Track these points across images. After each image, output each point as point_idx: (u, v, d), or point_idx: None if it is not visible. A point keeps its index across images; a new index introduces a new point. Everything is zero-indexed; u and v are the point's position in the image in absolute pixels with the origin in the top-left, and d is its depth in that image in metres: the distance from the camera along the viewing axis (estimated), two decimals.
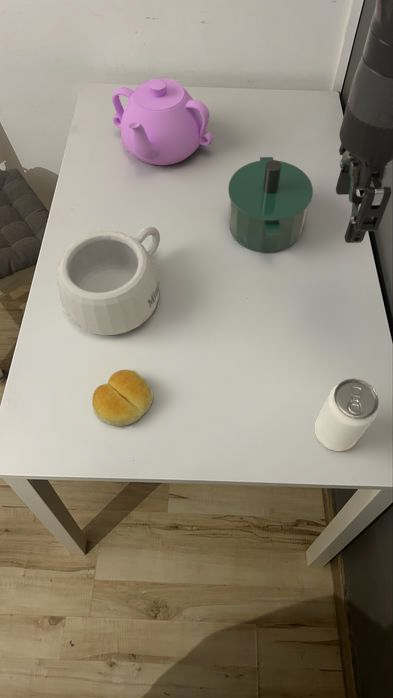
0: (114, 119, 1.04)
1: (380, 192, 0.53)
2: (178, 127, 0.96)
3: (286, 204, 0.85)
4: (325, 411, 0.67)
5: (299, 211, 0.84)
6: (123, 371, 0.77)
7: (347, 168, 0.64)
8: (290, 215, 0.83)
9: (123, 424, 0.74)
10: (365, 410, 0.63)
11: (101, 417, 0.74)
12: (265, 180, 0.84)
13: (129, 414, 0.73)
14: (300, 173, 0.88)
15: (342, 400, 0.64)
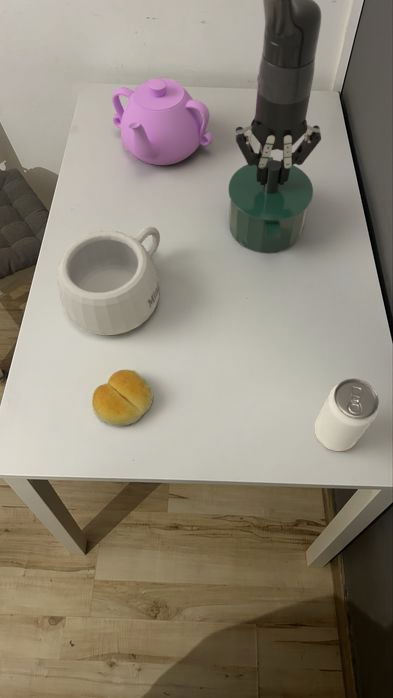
0: (114, 119, 1.04)
1: (236, 134, 0.77)
2: (178, 127, 0.96)
3: (286, 204, 0.85)
4: (325, 411, 0.67)
5: (299, 211, 0.84)
6: (123, 371, 0.77)
7: (282, 159, 0.82)
8: (290, 215, 0.83)
9: (123, 424, 0.74)
10: (365, 410, 0.63)
11: (101, 417, 0.74)
12: (265, 180, 0.84)
13: (129, 414, 0.73)
14: (300, 173, 0.88)
15: (342, 400, 0.64)
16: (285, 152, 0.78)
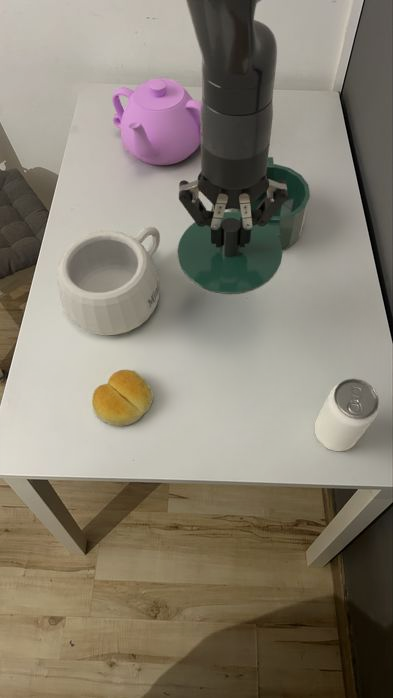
0: (114, 119, 1.04)
1: (179, 190, 0.60)
2: (178, 127, 0.96)
3: (248, 271, 0.68)
4: (325, 411, 0.67)
5: (264, 281, 0.67)
6: (123, 371, 0.77)
7: None
8: (252, 287, 0.67)
9: (123, 424, 0.74)
10: (365, 410, 0.63)
11: (101, 417, 0.74)
12: (222, 242, 0.68)
13: (129, 414, 0.73)
14: (267, 230, 0.71)
15: (342, 400, 0.64)
16: (242, 212, 0.61)
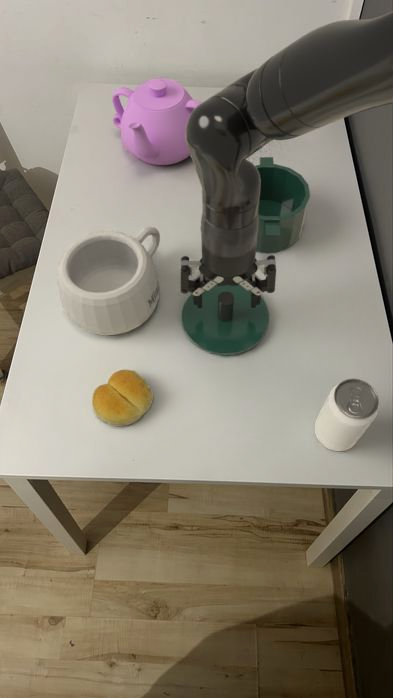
0: (114, 119, 1.04)
1: (182, 264, 0.72)
2: (178, 127, 0.96)
3: (240, 334, 0.81)
4: (325, 411, 0.67)
5: (253, 343, 0.81)
6: (123, 371, 0.77)
7: None
8: (244, 349, 0.80)
9: (123, 424, 0.74)
10: (365, 410, 0.63)
11: (101, 417, 0.74)
12: (218, 310, 0.81)
13: (129, 414, 0.73)
14: None
15: (342, 400, 0.64)
16: (245, 287, 0.74)
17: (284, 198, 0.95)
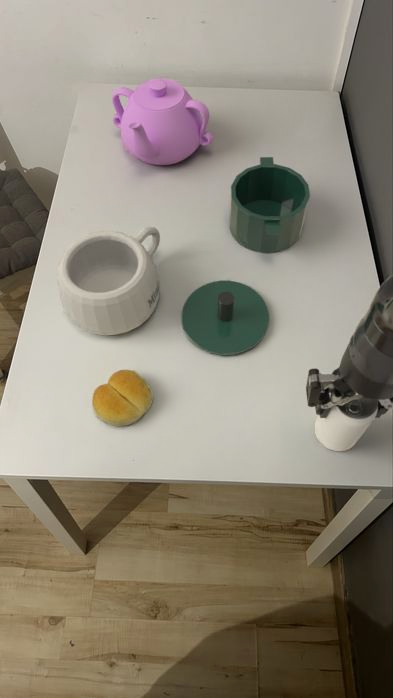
0: (114, 119, 1.04)
1: (312, 379, 0.59)
2: (178, 127, 0.96)
3: (240, 334, 0.81)
4: None
5: (253, 343, 0.81)
6: (123, 371, 0.77)
7: None
8: (244, 349, 0.80)
9: (123, 424, 0.74)
10: (365, 410, 0.63)
11: (101, 417, 0.74)
12: (218, 310, 0.81)
13: (129, 414, 0.73)
14: (257, 297, 0.85)
15: None
16: (382, 402, 0.61)
17: (284, 198, 0.95)
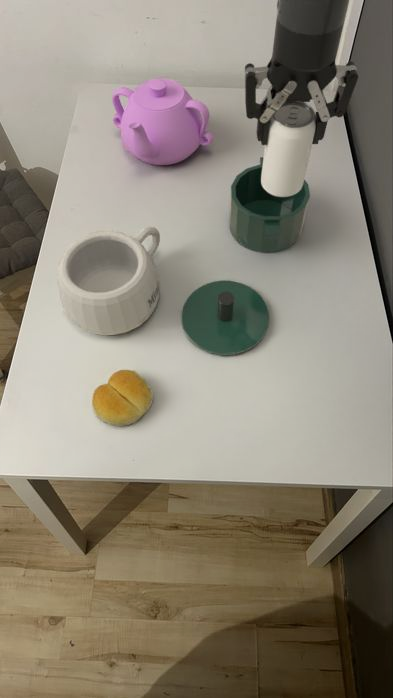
0: (114, 119, 1.04)
1: (247, 72, 0.61)
2: (178, 127, 0.96)
3: (240, 334, 0.81)
4: None
5: (253, 343, 0.81)
6: (123, 371, 0.77)
7: None
8: (244, 349, 0.80)
9: (123, 424, 0.74)
10: (302, 122, 0.66)
11: (101, 417, 0.74)
12: (218, 310, 0.81)
13: (129, 414, 0.73)
14: (257, 297, 0.85)
15: (280, 116, 0.66)
16: (316, 103, 0.63)
17: (284, 198, 0.95)
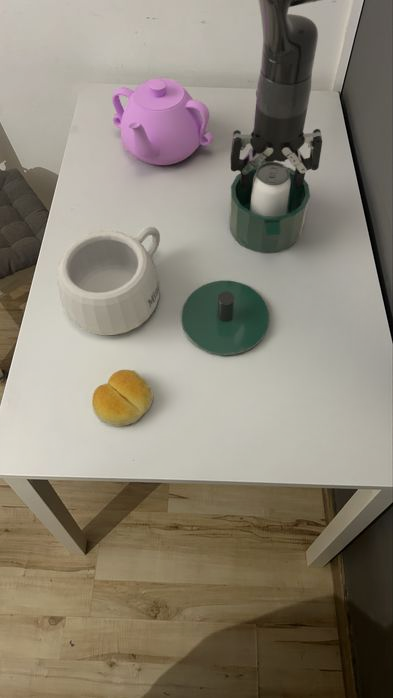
0: (114, 119, 1.04)
1: (235, 137, 0.78)
2: (178, 127, 0.96)
3: (240, 334, 0.81)
4: (252, 191, 0.87)
5: (253, 343, 0.81)
6: (123, 371, 0.77)
7: None
8: (244, 349, 0.80)
9: (123, 424, 0.74)
10: (279, 181, 0.83)
11: (101, 417, 0.74)
12: (218, 310, 0.81)
13: (129, 414, 0.73)
14: (257, 297, 0.85)
15: (262, 175, 0.84)
16: (292, 162, 0.80)
17: None
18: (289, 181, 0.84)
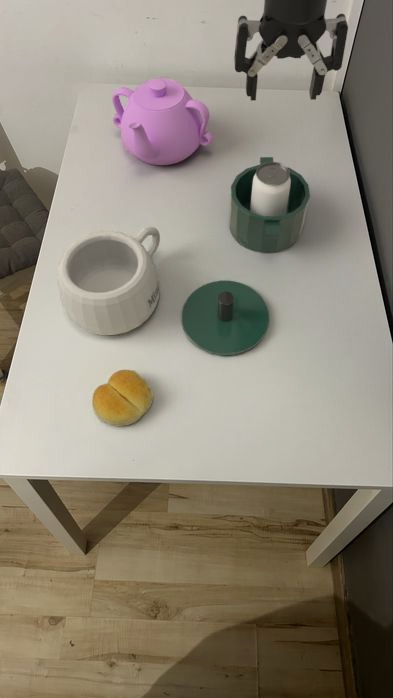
0: (114, 119, 1.04)
1: (240, 23, 0.63)
2: (178, 127, 0.96)
3: (240, 334, 0.81)
4: (252, 191, 0.87)
5: (253, 343, 0.81)
6: (123, 371, 0.77)
7: None
8: (244, 349, 0.80)
9: (123, 424, 0.74)
10: (279, 181, 0.83)
11: (101, 417, 0.74)
12: (218, 310, 0.81)
13: (129, 414, 0.73)
14: (257, 297, 0.85)
15: (262, 175, 0.84)
16: (309, 57, 0.65)
17: None
18: (289, 181, 0.84)
